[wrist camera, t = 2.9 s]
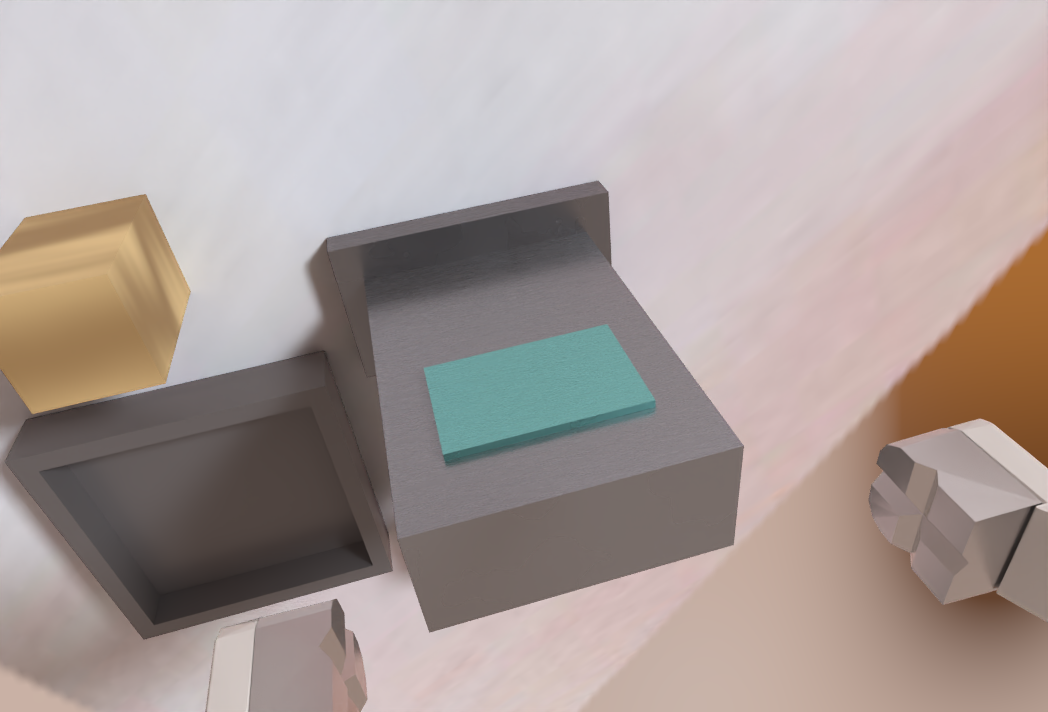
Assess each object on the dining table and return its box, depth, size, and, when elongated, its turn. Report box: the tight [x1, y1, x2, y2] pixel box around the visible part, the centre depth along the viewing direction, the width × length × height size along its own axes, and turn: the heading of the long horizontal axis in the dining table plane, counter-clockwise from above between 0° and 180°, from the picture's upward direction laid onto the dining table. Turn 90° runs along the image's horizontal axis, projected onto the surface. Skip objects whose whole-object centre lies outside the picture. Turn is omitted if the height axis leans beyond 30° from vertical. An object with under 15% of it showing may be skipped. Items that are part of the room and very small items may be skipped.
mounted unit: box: [327, 181, 744, 633], centre depth 24 cm, size 6×11×14 cm, turn 97°
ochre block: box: [0, 194, 191, 414], centre depth 23 cm, size 4×4×6 cm
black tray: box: [5, 351, 393, 639], centre depth 32 cm, size 12×12×2 cm
